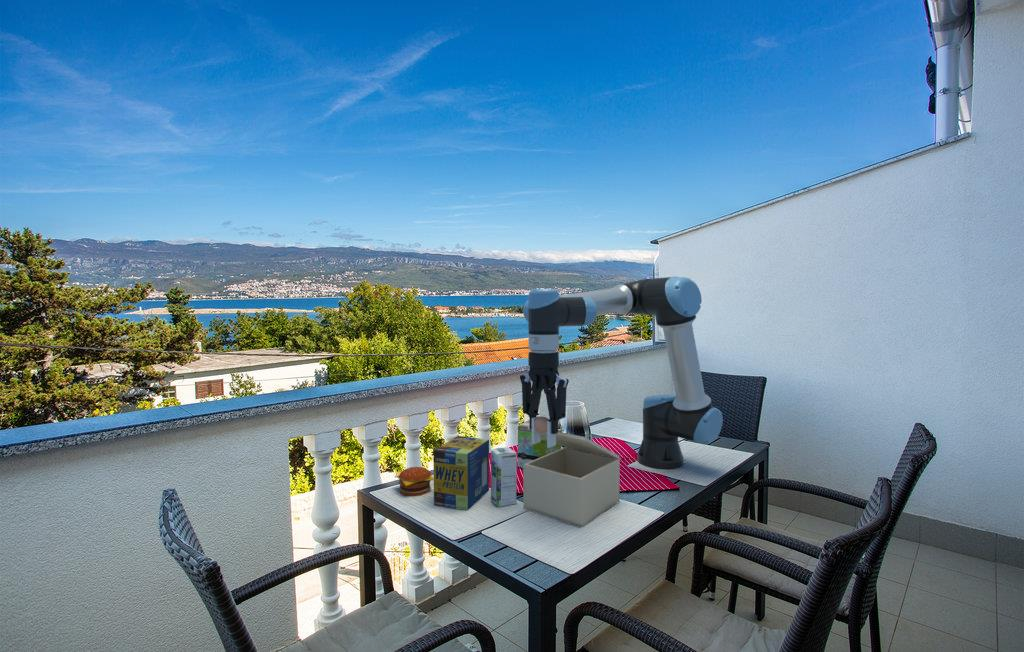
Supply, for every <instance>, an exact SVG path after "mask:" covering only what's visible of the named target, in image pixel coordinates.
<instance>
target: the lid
mask: <svg viewBox="0 0 1024 652" xmlns="http://www.w3.org/2000/svg"><path fill="white" fill-rule="evenodd" d="M548 419H549V418H547V417H546V416H540V417H539V418H537V419H536V421H535V424H534V425H535V429H536V430H537V431H538V432H540V435H541V436H543V437H546V438H547V421H548ZM528 429H529V430H531V429H530V426H528ZM531 431H532V430H531ZM556 443H558V444H560V445H562V446H564V447H567V448H571V449H575V450H580V451H584V452H589V453H593V454H598V455H602V456H607V457H611V458H616V459H620V455H618V454H616V453H615V452H614V451H611V450H610V449H608V448H606V447H604V446H602V445H600V444H598V443H597V442H595V441H593V440H591V439H589V438H587V437H586V436H582V435H577V434H571V433H569V434H567V433H562V432H559V430H558V433H556Z"/></svg>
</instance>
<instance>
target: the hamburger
mask: <svg viewBox="0 0 1024 652" xmlns="http://www.w3.org/2000/svg"><path fill="white" fill-rule="evenodd" d="M395 478H398V481H399V482H398V483H399V488H398V489H399V493H400V494H401V495H403V496H410V497H415V496H422V495H425V494H427V493H428V492H430V490H431V489H432V487H431V481H434V476H432V473H431V471H430V470H429V469H428V468H425V467H423V466H410V467H407V468H405V469H403V470H401V471H400V474H398V475H396V476H395Z"/></svg>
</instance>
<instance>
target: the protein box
mask: <svg viewBox="0 0 1024 652" xmlns="http://www.w3.org/2000/svg"><path fill="white" fill-rule="evenodd" d="M432 451H433V453H432V454H433V456H432V457H433V478H434V480H433V505H434V506H439V507H444V508H445V507H446V508H451V509H457V510H462V511H468V510H470V509H471V508H472V507H473V506H474V505H475V504H476V503H477V502H478V501H479V500H481V499H482V498H483V496H486V494H487V493H488V492H489V491H490V439H487V438H479V437H470V436H463V435H457V436H455V437H453V438H452V439H450V440H447V442H445V443H443V444H441V445H440V446H438V447H436V448H434V449H433V450H432Z"/></svg>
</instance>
